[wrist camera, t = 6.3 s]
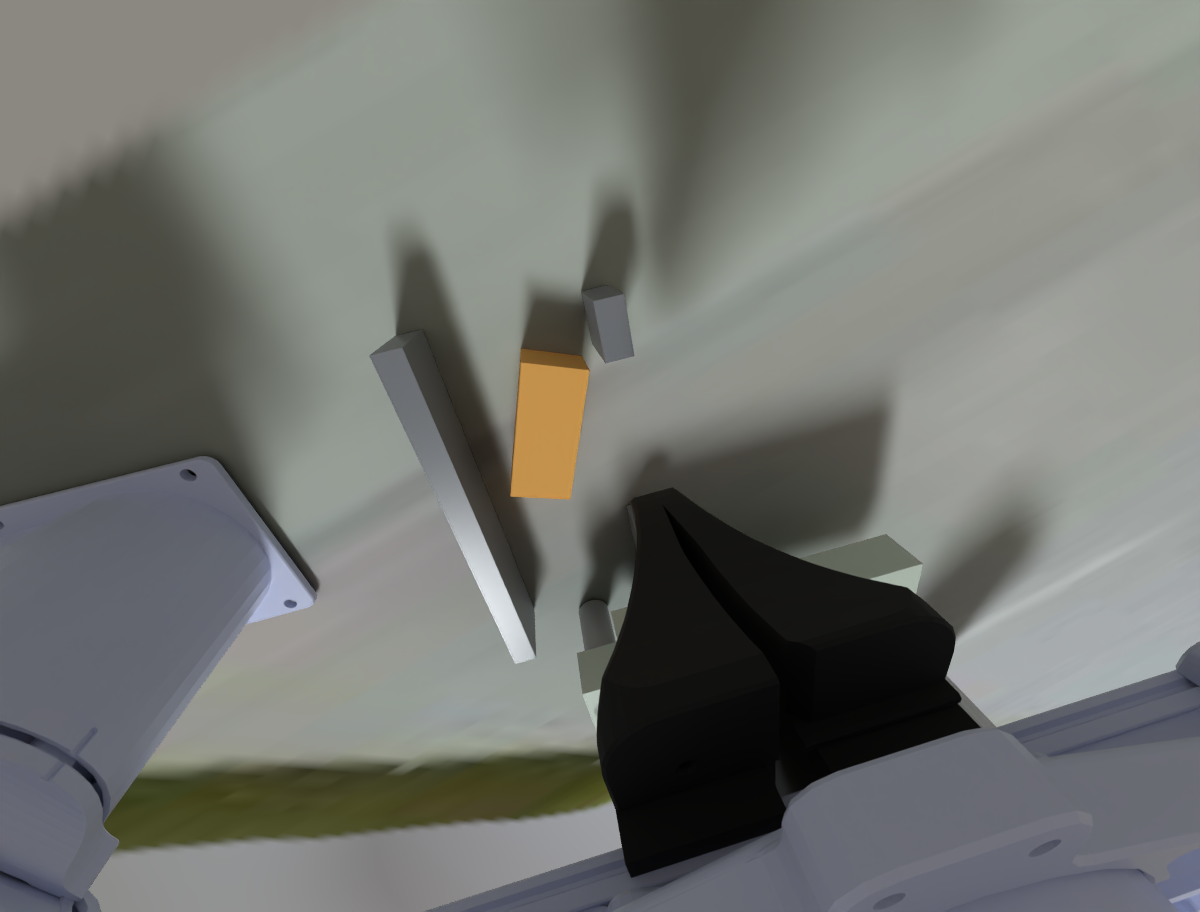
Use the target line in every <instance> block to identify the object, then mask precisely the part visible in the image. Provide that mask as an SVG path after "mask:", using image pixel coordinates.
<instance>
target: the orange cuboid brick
mask: <svg viewBox="0 0 1200 912" xmlns="http://www.w3.org/2000/svg"><path fill="white" fill-rule="evenodd" d="M589 371H590V370H589V368H588V366H587V365H586V363H585V361H584V359H583V357H582V356H579V355H570V354H562V353H554V352H546V351H538V350H530V349H522V348H521V355H520V368H519V381H518V394H517V407H516V419H515V432H514V445H513V458H512V471H511V497H531V498H553V499H570V498H571V491H572V484H573V478H574V471H575V464H576V458H577V451H578V444H579V438H580V431H581V424H582V418H583V411H584V404H585V398H586V391H587V384H588V378H589Z"/></svg>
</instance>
